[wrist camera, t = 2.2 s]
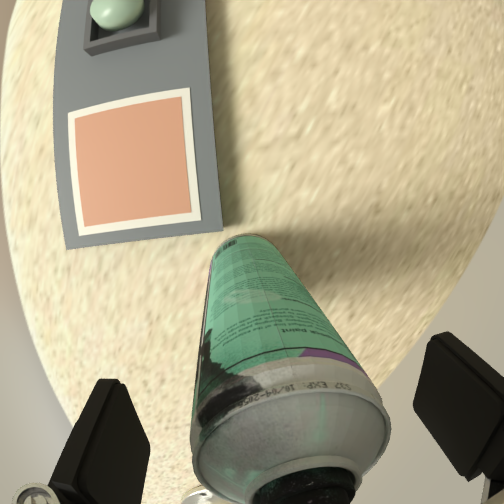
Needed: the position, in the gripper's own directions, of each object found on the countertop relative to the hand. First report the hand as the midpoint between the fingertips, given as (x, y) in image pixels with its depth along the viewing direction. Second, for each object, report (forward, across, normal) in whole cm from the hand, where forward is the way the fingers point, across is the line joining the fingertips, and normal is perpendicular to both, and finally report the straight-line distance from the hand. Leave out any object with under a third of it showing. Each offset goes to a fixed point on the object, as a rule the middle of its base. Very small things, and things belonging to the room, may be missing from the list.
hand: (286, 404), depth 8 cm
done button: (+13, +7, -20) cm, 25 cm away
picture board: (+16, +8, -13) cm, 22 cm away
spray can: (+16, 0, +1) cm, 16 cm away
